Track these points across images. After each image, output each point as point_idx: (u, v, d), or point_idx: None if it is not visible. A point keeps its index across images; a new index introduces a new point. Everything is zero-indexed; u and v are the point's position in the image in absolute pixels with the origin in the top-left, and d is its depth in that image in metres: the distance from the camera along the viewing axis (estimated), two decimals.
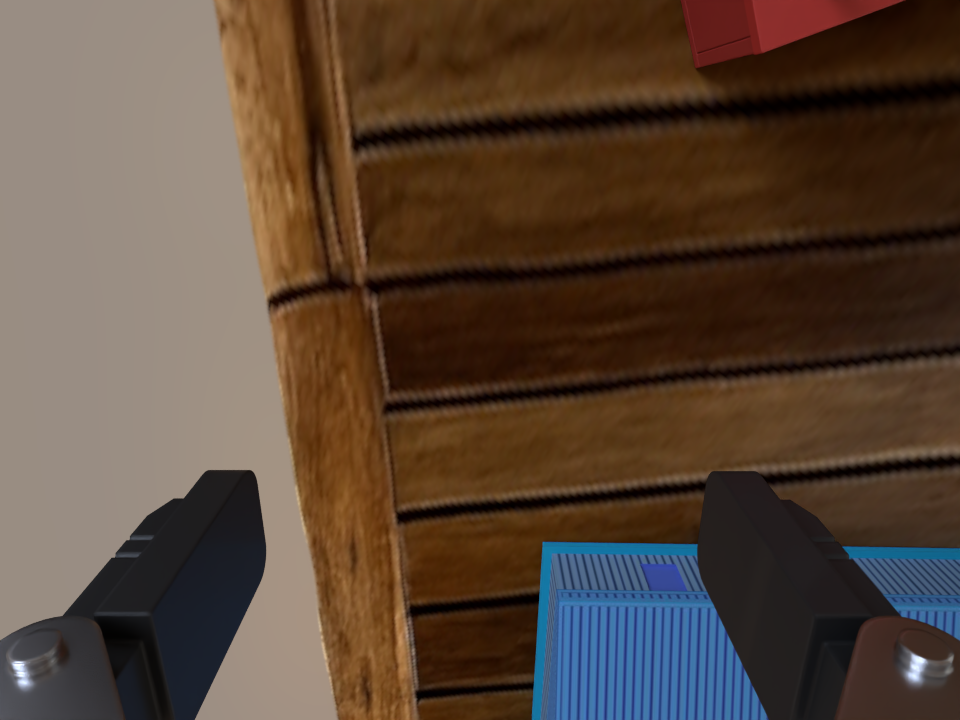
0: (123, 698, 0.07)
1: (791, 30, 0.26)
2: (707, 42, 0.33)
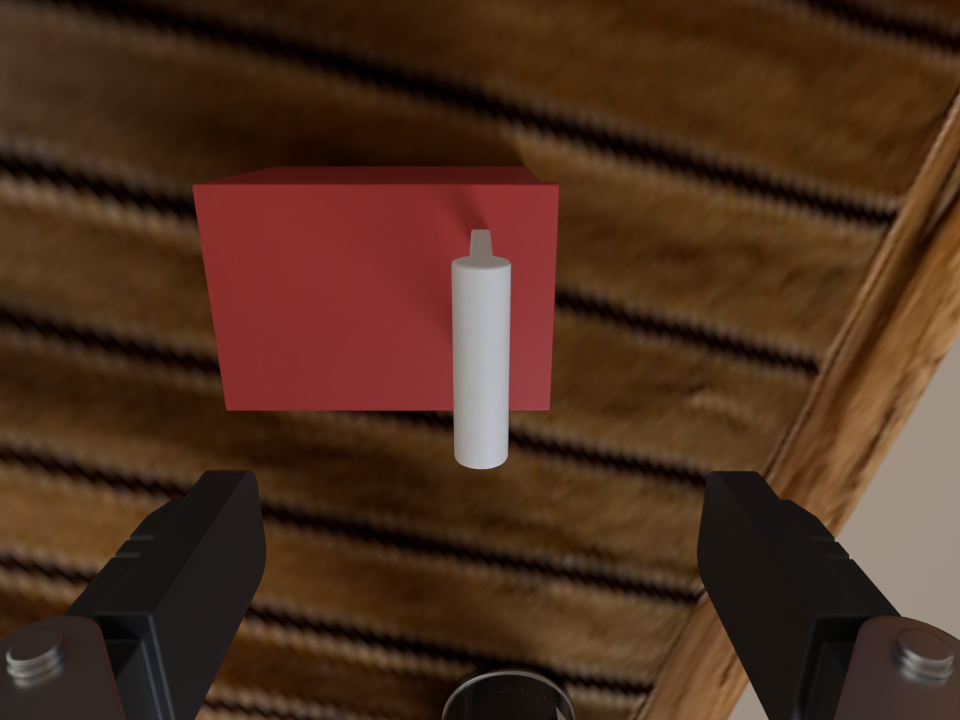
0: (123, 698, 0.07)
1: (523, 196, 0.23)
2: None
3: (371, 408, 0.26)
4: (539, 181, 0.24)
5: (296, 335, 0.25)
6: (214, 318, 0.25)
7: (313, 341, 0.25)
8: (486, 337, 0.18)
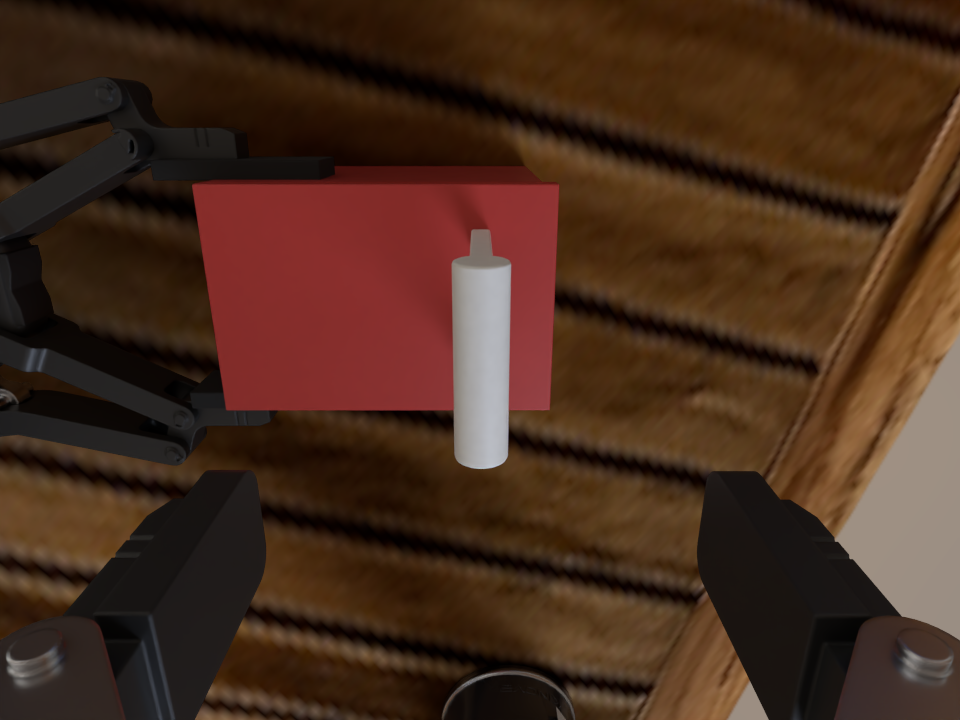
0: (123, 698, 0.07)
1: (523, 195, 0.23)
2: None
3: (371, 408, 0.26)
4: (539, 181, 0.24)
5: (296, 335, 0.25)
6: (213, 318, 0.25)
7: (313, 341, 0.25)
8: (486, 337, 0.18)
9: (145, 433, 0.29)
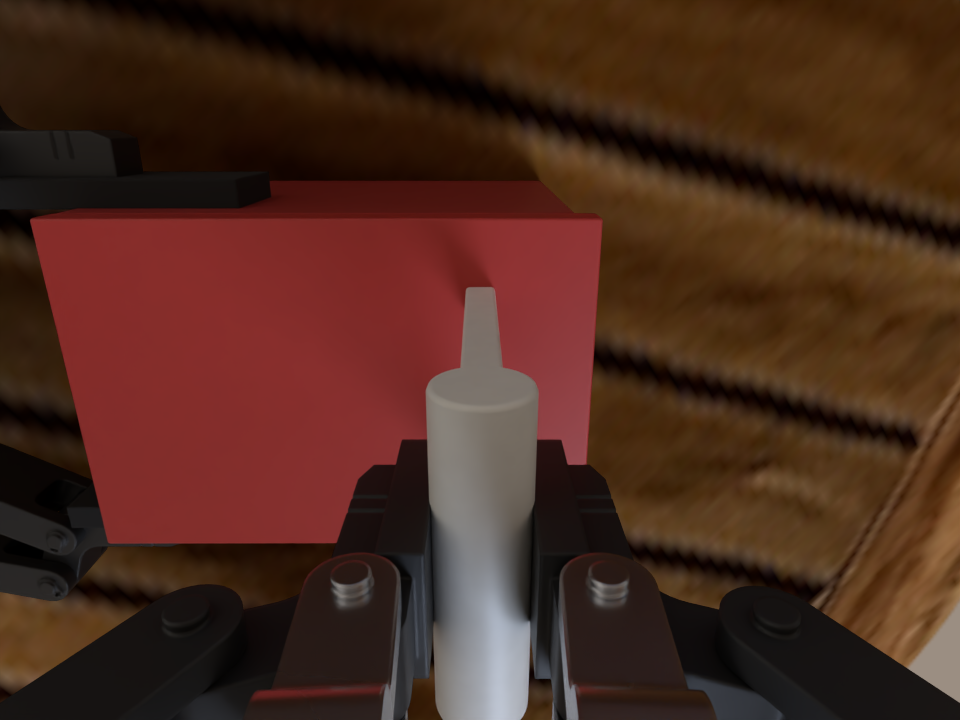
0: (409, 625, 0.08)
1: (547, 236, 0.15)
2: None
3: (320, 540, 0.18)
4: (569, 211, 0.16)
5: (205, 440, 0.17)
6: (80, 416, 0.17)
7: (230, 448, 0.17)
8: (492, 530, 0.09)
9: (12, 555, 0.21)
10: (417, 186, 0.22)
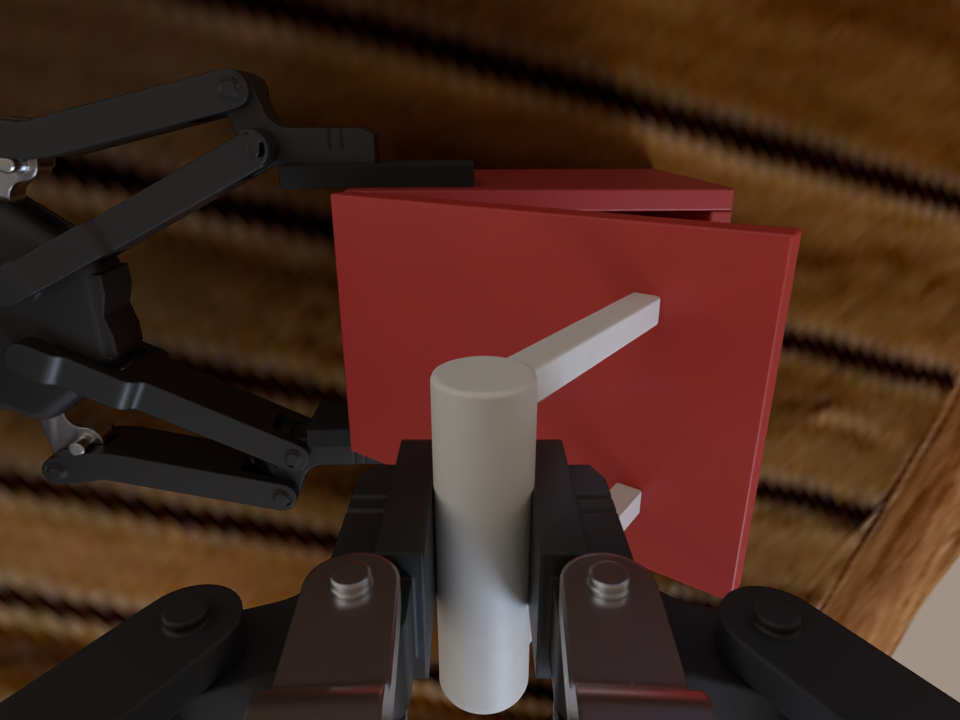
0: (409, 625, 0.08)
1: (723, 248, 0.13)
2: None
3: None
4: None
5: (415, 387, 0.20)
6: (344, 347, 0.22)
7: (431, 400, 0.20)
8: (462, 509, 0.10)
9: (249, 474, 0.26)
10: (566, 172, 0.27)
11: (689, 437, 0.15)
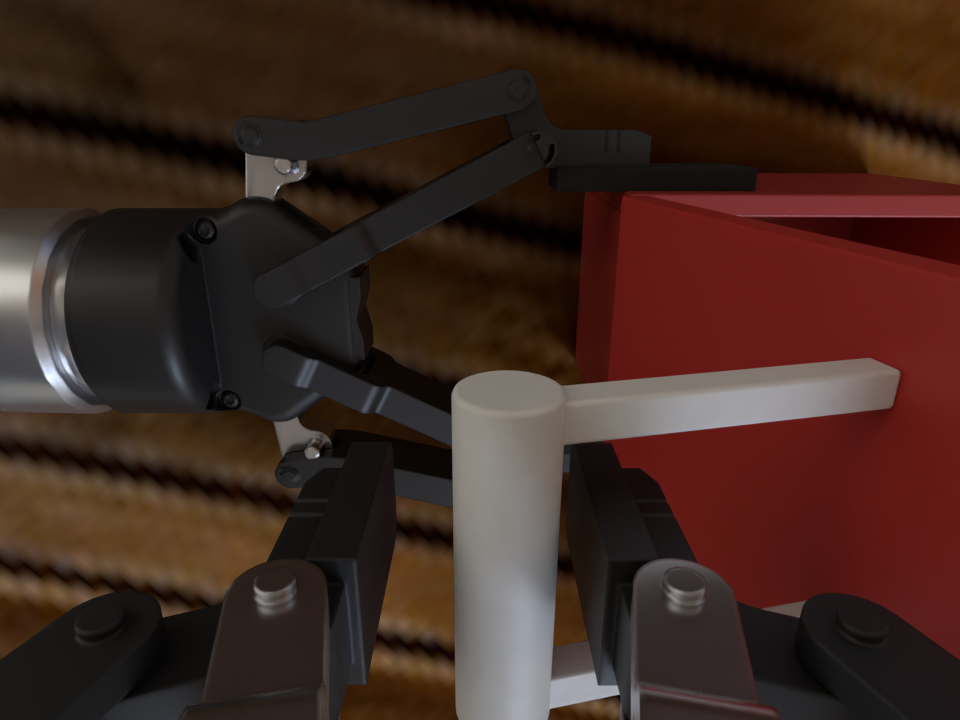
0: (338, 632, 0.08)
1: None
2: None
3: None
4: None
5: None
6: (610, 352, 0.21)
7: None
8: (458, 518, 0.10)
9: None
10: (794, 177, 0.27)
11: (908, 579, 0.10)
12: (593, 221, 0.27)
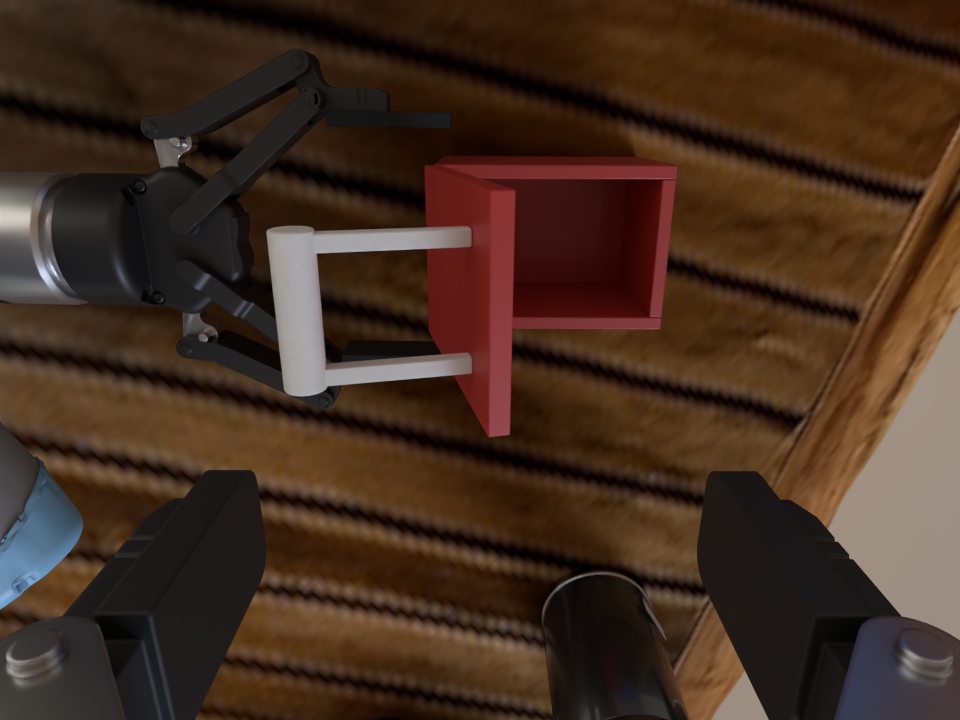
0: (123, 698, 0.07)
1: (480, 199, 0.22)
2: None
3: None
4: (674, 165, 0.34)
5: (437, 289, 0.32)
6: (427, 262, 0.35)
7: (440, 297, 0.32)
8: (273, 285, 0.23)
9: None
10: (574, 158, 0.40)
11: (478, 321, 0.24)
12: None
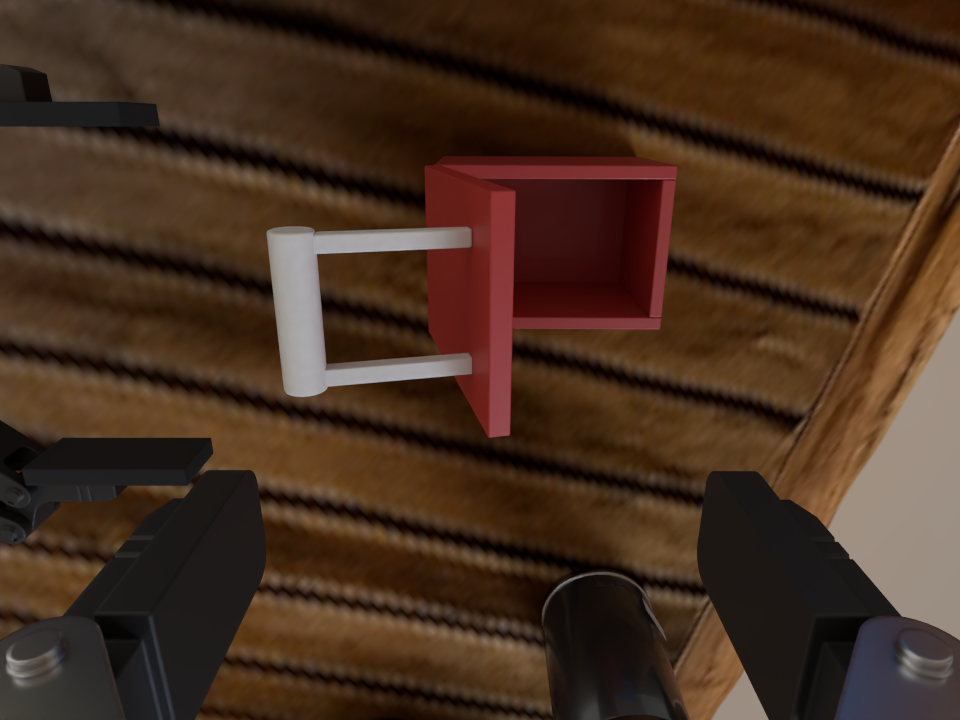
0: (123, 698, 0.07)
1: (480, 199, 0.22)
2: None
3: None
4: (674, 165, 0.34)
5: (437, 289, 0.32)
6: (427, 263, 0.35)
7: (440, 297, 0.32)
8: (273, 286, 0.23)
9: None
10: (574, 158, 0.40)
11: (479, 322, 0.24)
12: None
